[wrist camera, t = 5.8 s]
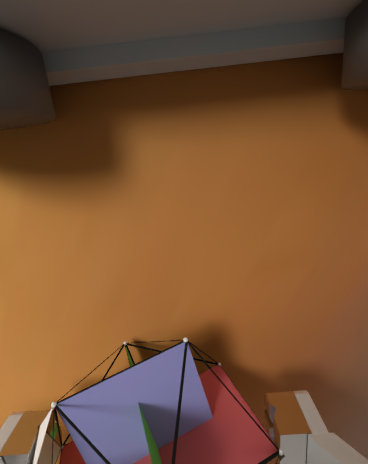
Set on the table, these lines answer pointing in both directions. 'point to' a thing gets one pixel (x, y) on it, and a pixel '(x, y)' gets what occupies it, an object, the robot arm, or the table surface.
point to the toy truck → (162, 42)
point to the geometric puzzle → (157, 417)
